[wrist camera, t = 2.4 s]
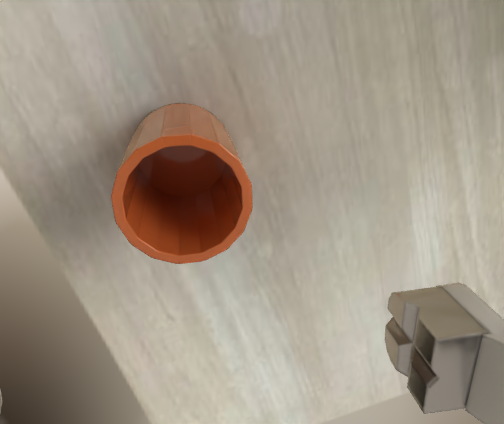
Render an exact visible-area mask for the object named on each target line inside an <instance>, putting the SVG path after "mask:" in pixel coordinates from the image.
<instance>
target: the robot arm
mask: <svg viewBox="0 0 504 424" xmlns="http://www.w3.org/2000/svg"><path fill="white" fill-rule="evenodd" d="M388 310H389V312H390V313H391V314H392V316H393V317H392V319H391V320H390V321H389V322H388V324H387V325H386V328H385V343H386V348H387V352H388V355H389V357H390V360H391V362H392V364H393V365H394V367H395V369H396V370H397V371H399V372H400V373H402V374H404V375H405V376H407V377H408V383H407V388H408V389H409V391H410V393H411V394H412V395H413V397H414V399H415V400H416V402H417V404H418V405H419V407H420V408H421V410H422V411H423V413H424V414H427V413H434V412H442V411H448V410H456V409H464V408H466V411H467V412H468V413H470V414H471V415H473V416H474V417H475V418H477V419H478V420H480V421H481V422H482V423H484V424H504V319H503V318H502V317H501V316H500V315H498V314H497V313H496V312H495V311H494V310H493V309H492V308H491V307H490V306H488V305H487V304H486V303H485V302H484V301H483V300H482V299H481V298H479V297H478V296H477V295H476V294H475V293H474V292H473V291H472V290H471V289H469V288H468V287H467V286H466V285H464V284H462V283H459V282H458V283H452V284H446V285H439V286H436V287H431V288H424V289H416V290H409V291H401V292H394V293H392V294H391V296H390V298H389V302H388ZM1 406H2V396H1V389H0V412H1Z"/></svg>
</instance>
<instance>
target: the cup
mask: <svg viewBox="0 0 504 424" xmlns="http://www.w3.org/2000/svg"><path fill="white" fill-rule="evenodd" d="M111 201H112V206H113V212H114V217H115V221H116V224H117V225H118V227H119V228H120V229H121V231H122V232H123V234H124V235H125V237H126V238H127V240H128V241H129V242H130V243H131V244H132V245H133V246H135V247H136V248H138V249H139V250H141V251H142V252H144V253H145V254H147V255H148V256H150V257H151V258H152V257H153V258H154V259H158V260H162V261H167V262H171V263H175V264H183V263H191V262H200V261H203V260H204V261H205V260H207V259H209V258H211V257H213V256H215V255H217V254H219V253H221V252H223V251H225V250H227V249H228V248H229V247H230V246H231V245H232V244H233V242H234V241H235V240H236V239H237V238H238V237H239V236H240V235H241V234H242V233H243V231H244V229H245V227H246V224H247V222H248V219H249V217H250V214H251V211H252V185H251V182H250V180H249V178H248V175H247V173H246V171H245V169H244V167H243V165H242V163H241V160H240V158H239V156H238V154H237V152H236V150H235V147H234V145H233V143H232V141H231V139H230V137H229V135H228V133H227V131H226V129H225V127H224V125H223V124H222V123H221V122H220V121H219V120H218V119H217V118H216V117H215V116H214V115H213V114H212V113H210V112H209V111H207V110H205V109H204V108H201V107H199V106H196V105H192V104H186V103H176V104H169V105H166V106H163V107H160V108H158V109H156V110H154V111H153V112H151V113H150V114H149V115H148V116H146V117H145V118H144V120H143V121H142V122H141V123H140V125H139V126H138V128H137V129H136V130H135V132H134V134H133V137H132V139H131V141H130V143H129V146H128V148H127V150H126V153H125V155H124V157H123V160H122V162H121V164H120V167H119V169H118V171H117V174H116V178H115V182H114V186H113V190H112V194H111Z"/></svg>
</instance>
